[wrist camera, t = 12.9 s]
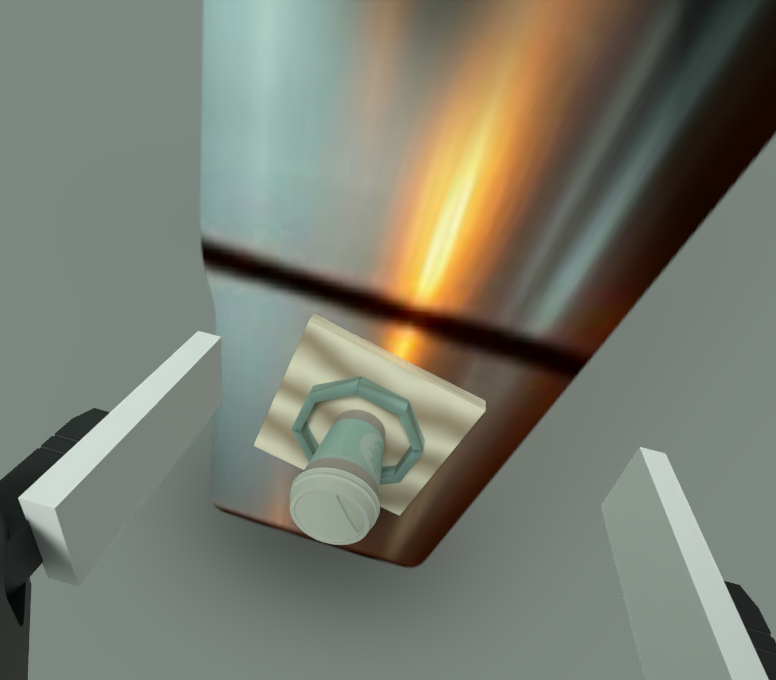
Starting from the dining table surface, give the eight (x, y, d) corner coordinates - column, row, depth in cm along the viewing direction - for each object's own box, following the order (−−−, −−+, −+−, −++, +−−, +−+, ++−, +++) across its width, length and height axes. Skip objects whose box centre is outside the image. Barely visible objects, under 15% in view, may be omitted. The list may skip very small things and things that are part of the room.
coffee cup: (389, 466, 54) (366, 559, 44) (318, 445, 54) (279, 533, 44) (405, 411, 49) (384, 501, 39) (328, 389, 50) (288, 472, 40)
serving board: (314, 313, 47) (302, 329, 44) (485, 401, 49) (485, 422, 46) (259, 436, 58) (247, 456, 55) (401, 505, 59) (397, 528, 57)
